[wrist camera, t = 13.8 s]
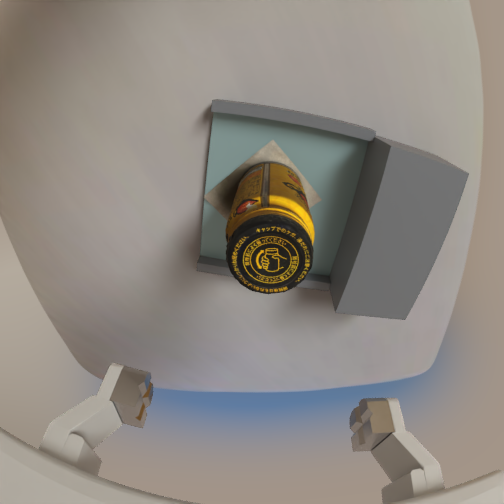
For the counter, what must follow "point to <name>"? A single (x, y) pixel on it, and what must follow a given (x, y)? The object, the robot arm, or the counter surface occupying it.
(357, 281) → the teal-floored tray
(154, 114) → the counter surface
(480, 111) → the counter surface
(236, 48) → the counter surface
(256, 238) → the condiment
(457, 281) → the counter surface
